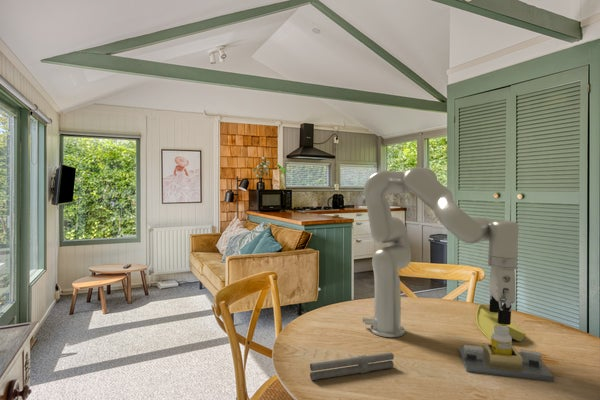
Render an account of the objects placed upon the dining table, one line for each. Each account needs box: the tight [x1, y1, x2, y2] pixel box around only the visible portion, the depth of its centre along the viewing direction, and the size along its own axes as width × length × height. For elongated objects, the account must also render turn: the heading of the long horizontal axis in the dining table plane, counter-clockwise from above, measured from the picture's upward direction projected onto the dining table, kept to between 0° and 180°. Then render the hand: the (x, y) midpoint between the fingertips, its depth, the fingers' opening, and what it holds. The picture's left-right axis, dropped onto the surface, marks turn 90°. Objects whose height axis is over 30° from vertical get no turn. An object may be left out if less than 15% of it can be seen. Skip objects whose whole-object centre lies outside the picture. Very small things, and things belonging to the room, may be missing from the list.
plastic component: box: [475, 303, 527, 342], centre depth 134 cm, size 20×7×10 cm
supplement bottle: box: [490, 325, 513, 355], centre depth 108 cm, size 5×5×10 cm
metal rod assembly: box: [309, 352, 395, 381], centre depth 103 cm, size 26×3×5 cm, turn 105°
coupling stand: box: [458, 342, 555, 382], centre depth 108 cm, size 22×14×4 cm, turn 75°
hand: (499, 317), depth 108 cm, fingers open, 9 cm apart
